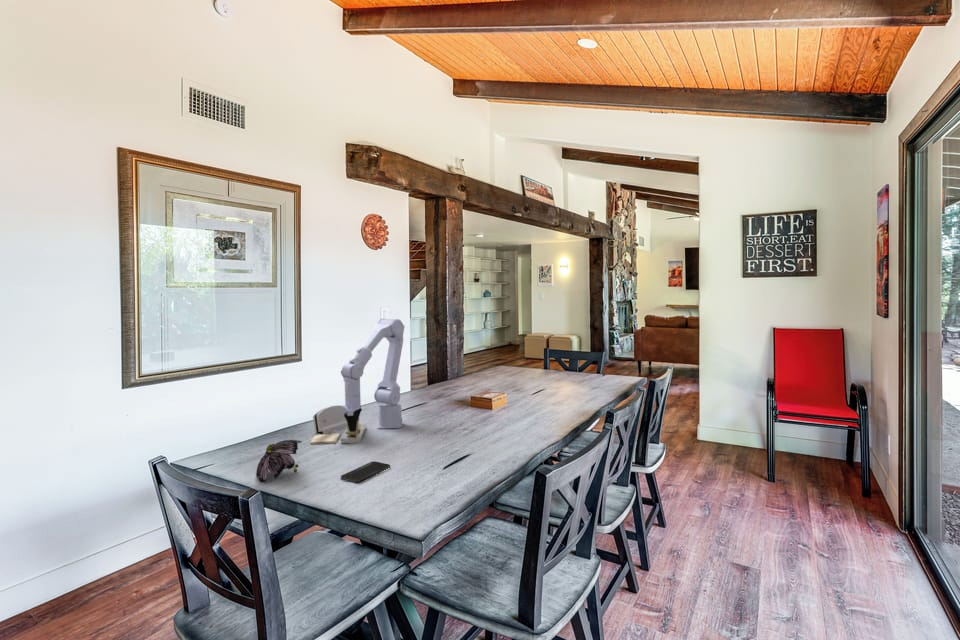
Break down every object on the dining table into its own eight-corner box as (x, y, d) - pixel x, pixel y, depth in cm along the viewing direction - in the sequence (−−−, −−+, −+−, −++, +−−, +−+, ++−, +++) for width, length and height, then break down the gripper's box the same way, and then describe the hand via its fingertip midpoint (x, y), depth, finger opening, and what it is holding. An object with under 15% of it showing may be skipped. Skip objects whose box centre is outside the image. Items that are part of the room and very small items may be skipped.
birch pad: (339, 435, 191) (339, 433, 191) (335, 443, 182) (335, 441, 182) (315, 436, 190) (315, 434, 190) (310, 444, 181) (310, 442, 181)
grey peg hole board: (365, 429, 200) (365, 423, 200) (360, 443, 182) (360, 437, 182) (348, 429, 199) (348, 424, 199) (340, 443, 181) (340, 438, 181)
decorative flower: (258, 438, 157) (302, 424, 156) (273, 467, 161) (317, 454, 160) (239, 466, 143) (288, 451, 143) (257, 497, 147) (305, 483, 147)
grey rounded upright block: (323, 434, 193) (316, 409, 194) (315, 437, 195) (309, 412, 196) (355, 424, 207) (348, 401, 208) (347, 426, 209) (341, 403, 210)
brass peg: (359, 435, 192) (359, 418, 191) (358, 438, 188) (357, 421, 187) (349, 435, 191) (348, 419, 191) (347, 438, 187) (347, 421, 187)
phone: (339, 476, 148) (373, 460, 161) (339, 480, 148) (373, 464, 161) (358, 481, 144) (392, 464, 158) (358, 485, 145) (392, 468, 158)
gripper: (344, 390, 195) (345, 424, 196) (338, 399, 181) (339, 435, 182) (363, 390, 196) (363, 424, 197) (358, 398, 182) (359, 434, 183)
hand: (353, 429), depth 189 cm, fingers closed on brass peg, 4 cm apart
